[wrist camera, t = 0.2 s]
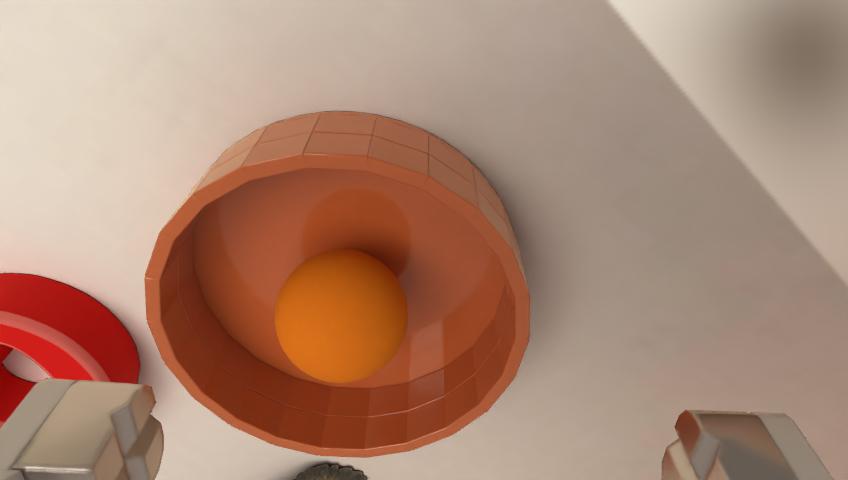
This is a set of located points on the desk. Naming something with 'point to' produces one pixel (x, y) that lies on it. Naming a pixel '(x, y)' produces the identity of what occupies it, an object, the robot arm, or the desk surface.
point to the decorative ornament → (59, 336)
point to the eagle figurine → (330, 473)
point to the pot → (334, 230)
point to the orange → (341, 316)
